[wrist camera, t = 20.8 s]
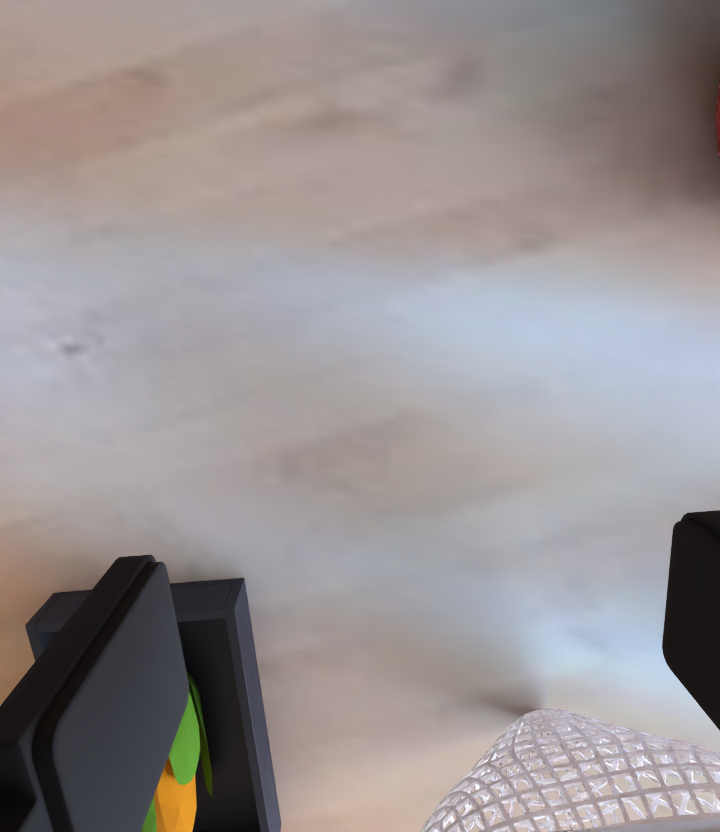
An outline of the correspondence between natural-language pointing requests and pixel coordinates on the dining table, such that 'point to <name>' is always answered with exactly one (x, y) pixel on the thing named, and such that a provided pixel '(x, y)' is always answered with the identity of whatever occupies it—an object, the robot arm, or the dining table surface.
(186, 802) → the corn
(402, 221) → the dining table surface
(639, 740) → the heart
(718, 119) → the mixing bowl
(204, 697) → the black tray
